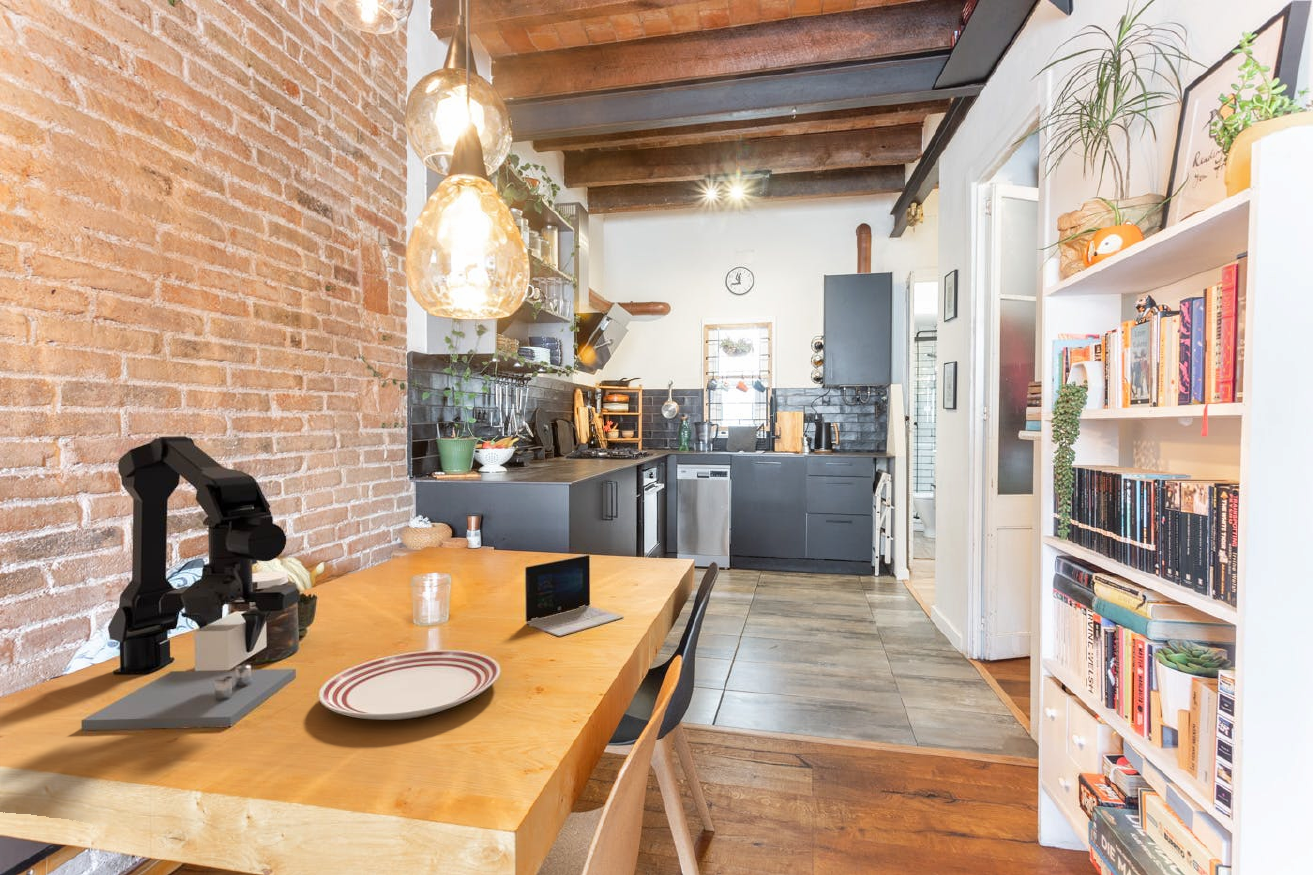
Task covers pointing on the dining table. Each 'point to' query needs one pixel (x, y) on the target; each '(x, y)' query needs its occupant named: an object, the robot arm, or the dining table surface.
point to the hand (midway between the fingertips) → (232, 651)
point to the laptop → (562, 597)
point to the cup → (306, 612)
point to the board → (188, 701)
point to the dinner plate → (409, 684)
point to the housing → (224, 643)
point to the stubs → (225, 683)
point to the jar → (274, 622)
